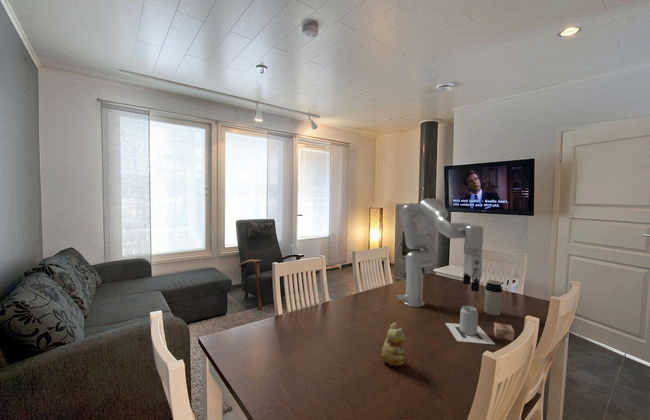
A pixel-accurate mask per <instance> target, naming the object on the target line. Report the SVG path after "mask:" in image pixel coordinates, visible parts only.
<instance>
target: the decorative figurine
mask: <svg viewBox="0 0 650 420" xmlns="http://www.w3.org/2000/svg"><path fill="white" fill-rule="evenodd" d="M405 340H406V338H405V334H404V333H403V329H402V328H398V324H397V322H393V323H391V324H390V325H389V327H388V330H387V332H386V338H385V340H384V342H383V346H382V348H381V360H382V361H384V362H385V363H387V364H388V366H394V367H395V366H396V367H398V366H403V365H404V355H405V353H406V350H405V348H403V347H402V344H403V343H404V342H405Z"/></svg>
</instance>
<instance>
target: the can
mask: <svg viewBox="0 0 650 420" xmlns="http://www.w3.org/2000/svg"><path fill="white" fill-rule="evenodd" d="M459 313H460V315H459V324H460V328H459V329H460V331H461V332H462V333H464V334H466V335H471V336H472V335H475V334H477V326H479V325H478V323H479V312H478V309H477V308H476V307H474V306H472V305H462V307H461V308H460V312H459Z"/></svg>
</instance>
